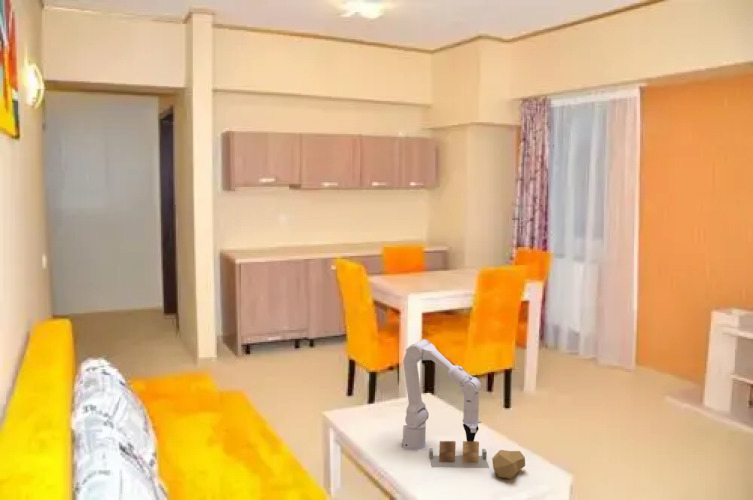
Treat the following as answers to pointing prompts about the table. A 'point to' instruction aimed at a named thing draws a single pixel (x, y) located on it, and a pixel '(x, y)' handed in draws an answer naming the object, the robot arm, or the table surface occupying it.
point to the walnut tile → (447, 451)
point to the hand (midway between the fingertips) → (470, 443)
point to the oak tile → (470, 451)
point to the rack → (459, 461)
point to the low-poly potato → (508, 463)
